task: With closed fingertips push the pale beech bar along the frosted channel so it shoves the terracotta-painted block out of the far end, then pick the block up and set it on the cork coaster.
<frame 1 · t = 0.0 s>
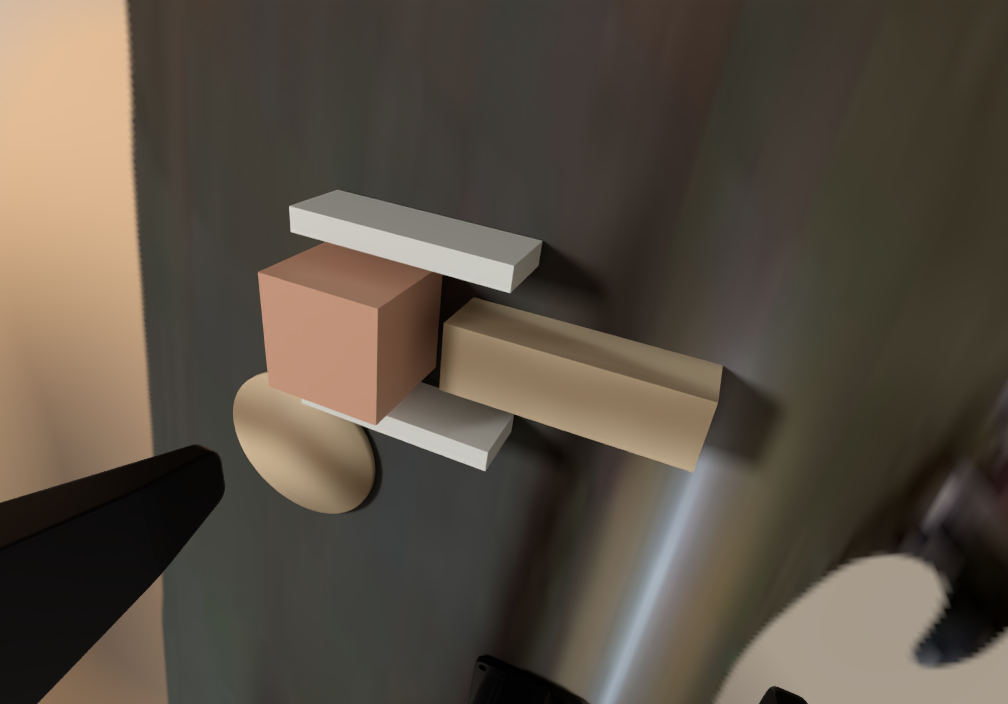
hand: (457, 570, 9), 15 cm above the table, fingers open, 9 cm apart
coaster: (304, 443, 32), on the table
channel: (428, 315, 25), on the table
block: (389, 302, 26), on the table
bar: (585, 359, 24), on the table
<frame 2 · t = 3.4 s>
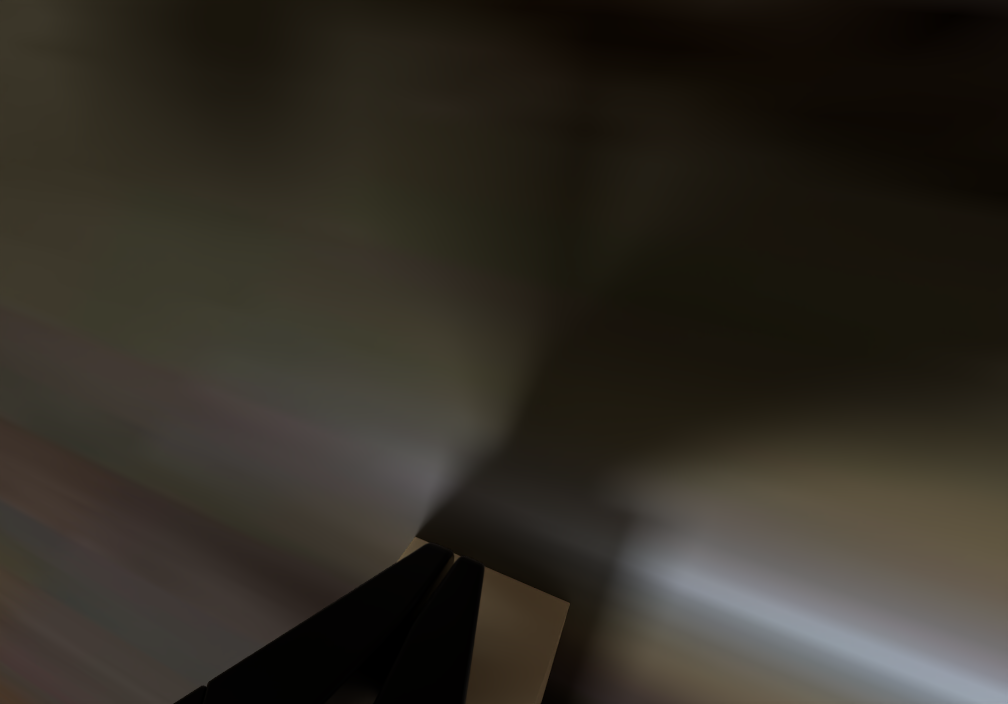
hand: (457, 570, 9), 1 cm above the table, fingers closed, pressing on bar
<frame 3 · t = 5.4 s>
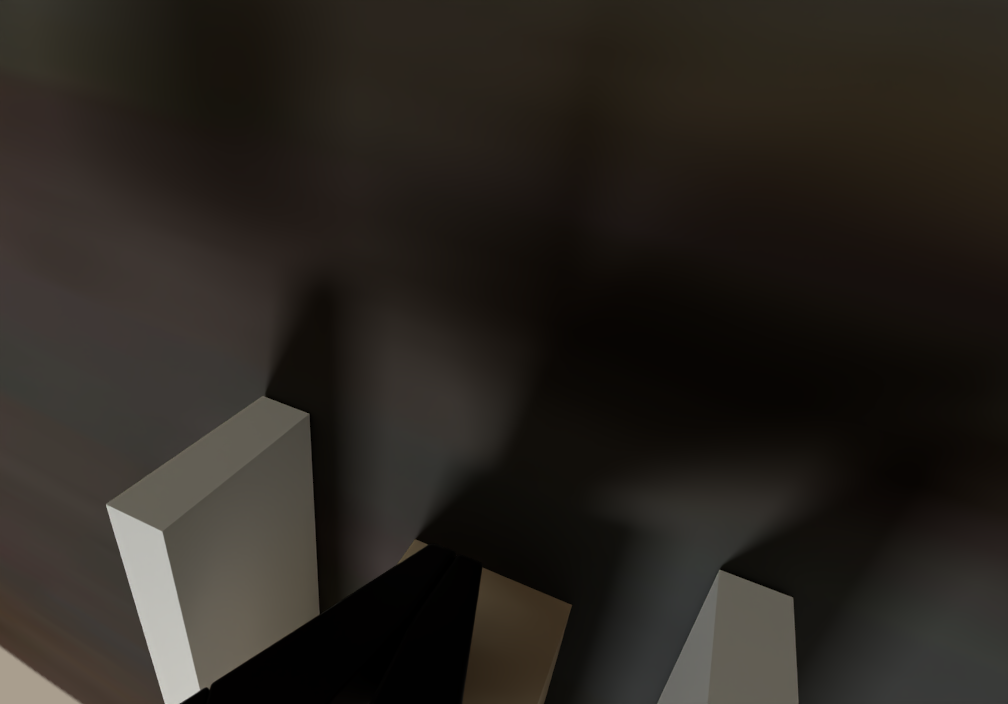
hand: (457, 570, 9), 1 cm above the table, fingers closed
channel: (467, 653, 11), on the table
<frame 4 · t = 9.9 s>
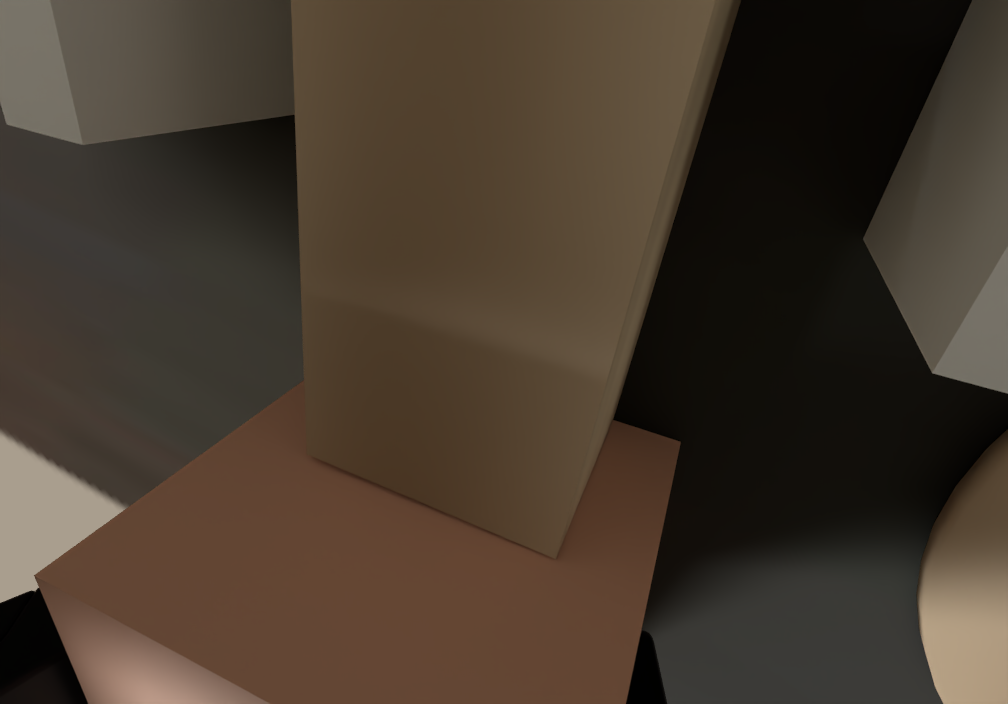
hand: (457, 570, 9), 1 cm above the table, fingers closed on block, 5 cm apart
block: (490, 509, 10), on the table, touching gripper
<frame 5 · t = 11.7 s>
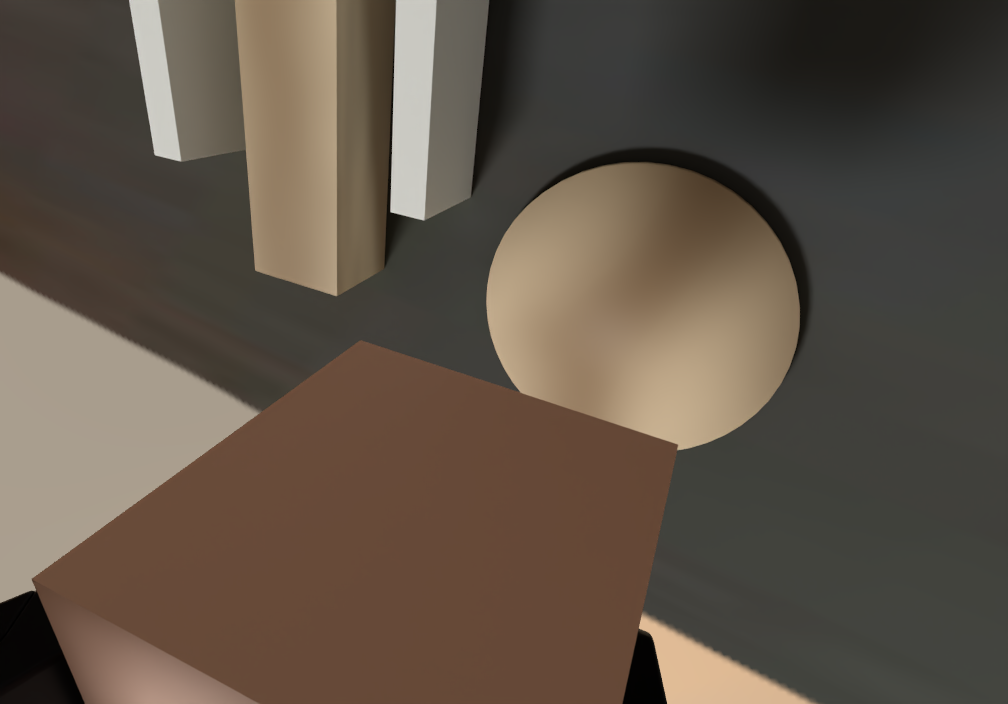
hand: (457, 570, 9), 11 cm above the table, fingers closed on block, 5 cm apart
coaster: (630, 318, 17), on the table
channel: (340, 7, 17), on the table
block: (488, 511, 10), point 9 cm above the table, touching gripper
bar: (352, 103, 18), on the table
when the fingers open (2 cm above the table, at t = 13.8 s): block stays where it is, resting on coaster.
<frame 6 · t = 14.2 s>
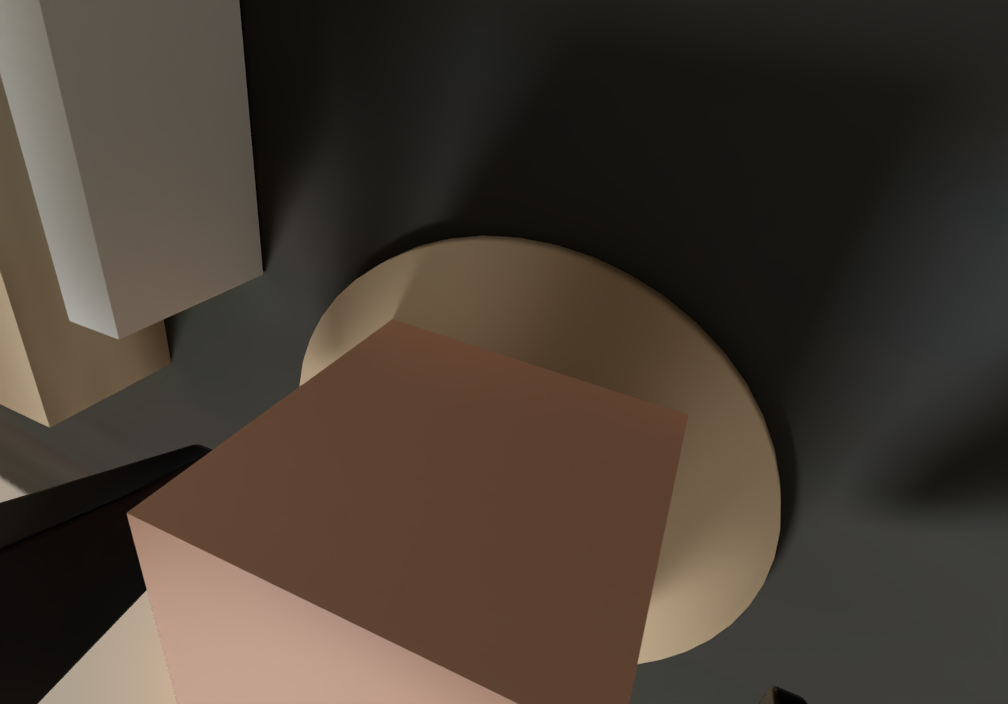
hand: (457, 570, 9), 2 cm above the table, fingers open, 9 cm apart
coaster: (513, 472, 11), on the table
block: (508, 480, 10), resting on coaster
bar: (86, 119, 11), on the table
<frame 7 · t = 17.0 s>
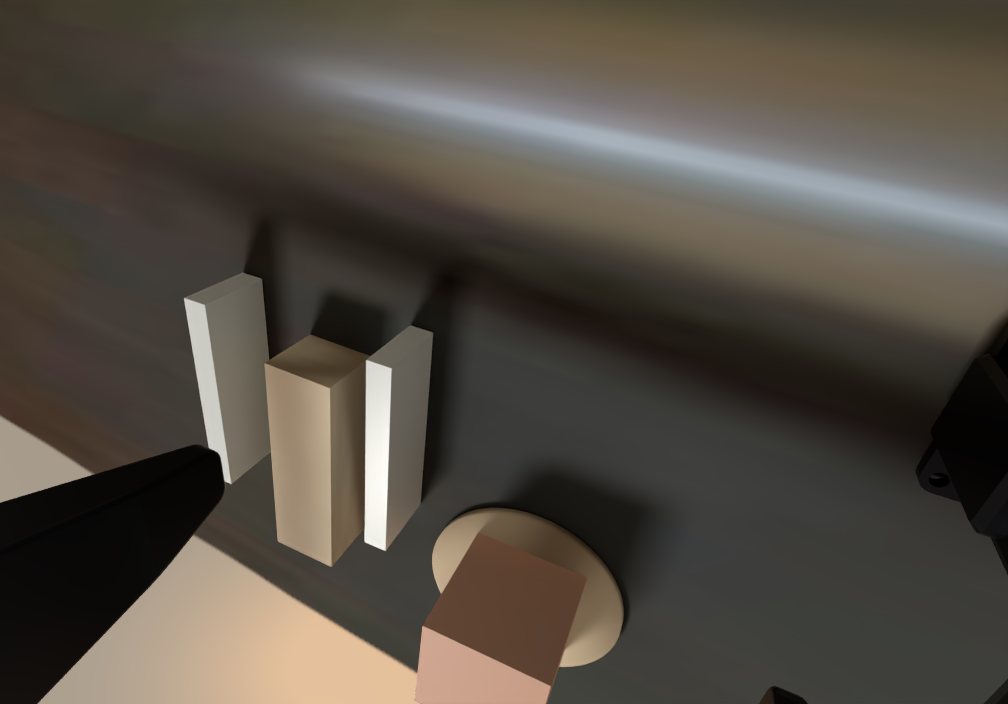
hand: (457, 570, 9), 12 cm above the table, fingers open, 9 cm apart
coaster: (524, 587, 26), on the table
channel: (335, 393, 26), on the table
block: (522, 592, 26), resting on coaster
bar: (343, 435, 27), on the table
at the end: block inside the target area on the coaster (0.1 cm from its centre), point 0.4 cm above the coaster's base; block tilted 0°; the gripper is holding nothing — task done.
